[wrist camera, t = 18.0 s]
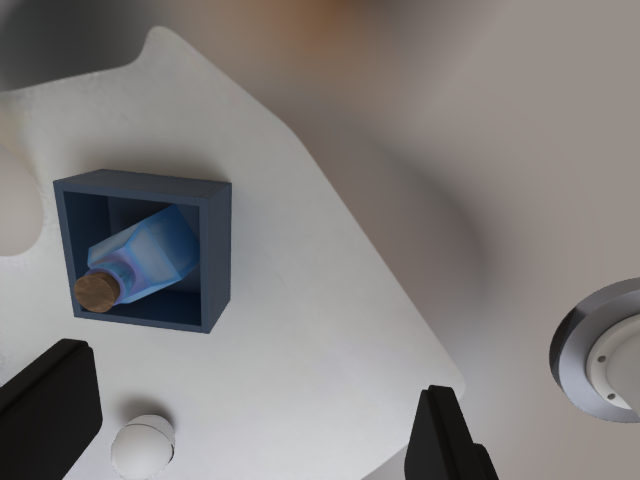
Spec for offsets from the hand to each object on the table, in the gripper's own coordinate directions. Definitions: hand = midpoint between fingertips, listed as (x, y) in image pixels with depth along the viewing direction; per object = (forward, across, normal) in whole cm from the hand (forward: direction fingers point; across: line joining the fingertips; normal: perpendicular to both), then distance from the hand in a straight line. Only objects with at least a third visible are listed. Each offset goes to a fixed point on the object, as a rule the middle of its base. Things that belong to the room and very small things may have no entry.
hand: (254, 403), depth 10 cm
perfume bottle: (+28, +16, +7) cm, 33 cm away
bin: (+28, +16, +7) cm, 33 cm away
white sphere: (+28, +18, +33) cm, 47 cm away
